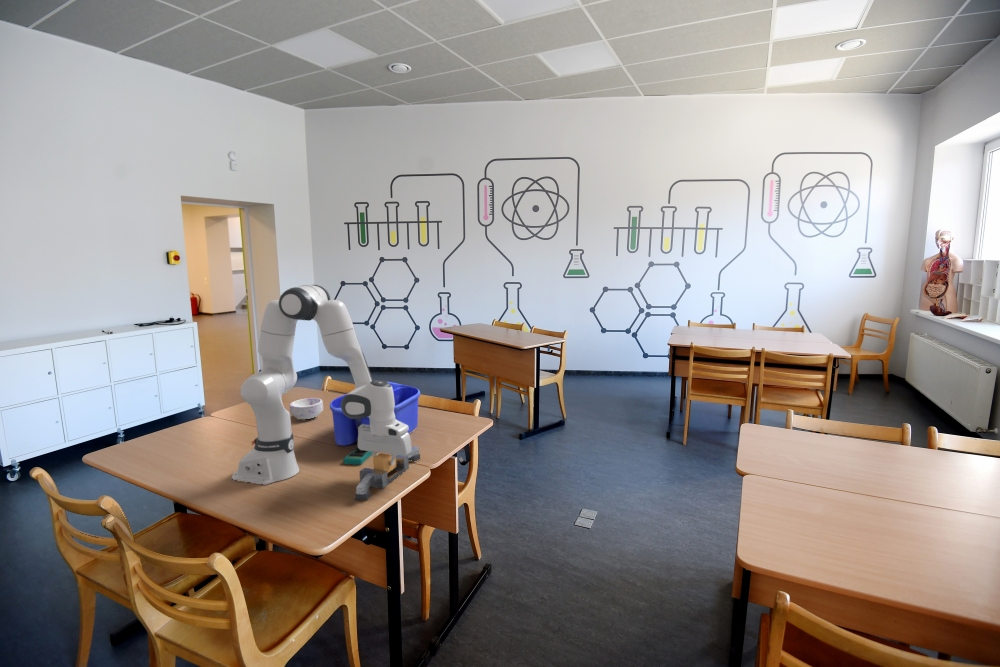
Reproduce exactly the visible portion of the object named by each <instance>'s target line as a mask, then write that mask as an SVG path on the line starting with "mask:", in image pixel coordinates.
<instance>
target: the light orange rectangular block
mask: <svg viewBox="0 0 1000 667" xmlns="http://www.w3.org/2000/svg"><path fill="white" fill-rule="evenodd" d="M391 458H392V457H391V455H390V454H386V453H378V455H377V456H375V457H373V458H372V459H373V460H372V461H373V462H372V463H373V469H376V470H382V471H387V474H388V473H390V472H391V471H393V470H392V469H394V468H395V467H396V458H395V464H394V465H393V466H391V465H389V463H388V461H389V460H390V459H391Z"/></svg>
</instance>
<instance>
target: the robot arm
mask: <svg viewBox="0 0 1000 667" xmlns="http://www.w3.org/2000/svg"><path fill="white" fill-rule="evenodd" d="M312 320H313V321H315V322H316V324H317V325H318V328H319V331H320V335H321V339H322V342H323V345H324V348H325V350H326V351H327V353H328V354H329V355H330V356H332V357H333V358H334V357H335V358H337V359H340V360H343V361H344V362H345V363H346V365H347V366H348V368H349V370H350V373H351V376H352V378H353V381H354V384H355V387H354V389H353V390H351V391H350V392H348V393H346V394H347V395H346V394H345V395H346V396H344V397H343V399H342V401H341V409H342V412H343V413H344V414H345V416H347V417H348V418H350V419H360V418H365V417H369V419H370V425H365V424H362V425H360V426H359V427H358V433H359V434H358V440H357V447H358V448H359V449H360V450H365V451H372V455H371V456H373V458H374V457H375V456H377V455H378V454H380V453H386V454H390V455H391V457H392V458H391V459H390V460H389V461H388V463H389V465H391V466H393V465H394V464H395V458H396V456H397V455H401V456H406V455H408V454H409V453H410V452H411V447H412V439H411V434H410V435H409V433H408V432H407V431H408V430H409V427H408V425H406V424H404V423H402V422H400V421H398V420H396V419H395V414H394V407H395V401H394V393H393V388H392V386H391V384H390V383H388V382H389V381H387V380H381V379H376V380H375V379H374V378H373V377H372V374H371V371H370V368H369V365H368V363H367V360H366V356H365V354H364V352H363V350H362V347H361V345H360V343H359V340H358V337H357V334H356V330H355V327H354V324H353V320H352V317H351V315H350V313H349V310H348V308H347V306H346V304H345V303H344V302H342V301H341V300H339V299H331V295H330V293H329V291H328V289H326V288H324V287H323V286H321V285H318V284H304V285H303V284H301V285H299V286H297V287H295V286H294V287H290V288H288V289H286V290H285V291H283V292H282V294H281V295H280V297H279V299H272V300H271V301H269V302H268V303H267V305H266V306H265V310H264V312H263V316H262V321H261V325H260V331H259V338H258V346H257V351H258V354H259V355H260V356H261V361H262V368H261V370H260V371H258V372H256V373H253V374H252V375H250V376H248V378H246V379H245V381H243V383H241V386H240V396H241V398H242V400H243V401H244V402H245V403H247V404H248V405H250V407H251V409H252V412H253V414H254V417H255V422H256V423H255V424H256V432H257V437H256V438H254V440H252V441H251V442H250V443H251V446H254V447H253V448H252V449H251V450H250V451H249V452H247V453H246V454H245V455H244V456H242V457H241V459H240V460H239V462H238V468H237V470H235V472H234V473H233V474H231V480H232V479H233V480H239V481H238V482H240V481H245V482H244V483H247V482H251V483H250V484H254V483H256V484H255V485H261V484H263V486H265V485H270V484H271V483H274V482H275V483H276V482H279V481H284V480H287V479H289V478H291V477H294V476H296V475H297V474H298V473H299V472H300V467H299V464H298V462H297V459H296V455H295V449H294V448H295V442H294V441H295V440H294V434H293V432H292V422H291V420H292V419H291V414H290V411H289V410H288V409H286V408H285V406H284V402H283V399H282V396H284V395H285V394H287V393H289V392H290V391H291V390H292V388H294V386H295V385H296V383H297V380H298V375H297V371H296V370H295V368H294V363H293V362H294V361H293V352H294V351H293V350H294V342H295V335H296V328H297V323H298V321H307V322H308V321H312ZM233 480H232V481H233Z"/></svg>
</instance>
